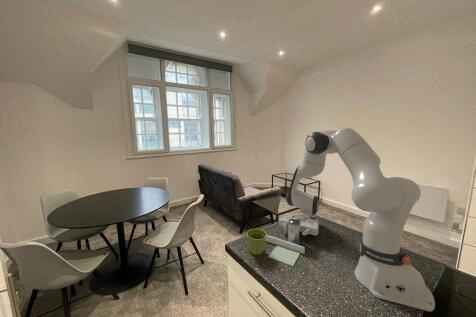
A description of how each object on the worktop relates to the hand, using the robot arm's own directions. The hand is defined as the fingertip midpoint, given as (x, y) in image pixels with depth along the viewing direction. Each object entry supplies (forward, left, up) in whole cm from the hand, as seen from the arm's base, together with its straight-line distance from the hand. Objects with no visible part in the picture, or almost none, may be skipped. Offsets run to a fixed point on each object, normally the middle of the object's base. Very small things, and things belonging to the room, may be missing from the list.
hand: (294, 231), depth 97 cm
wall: (+3, +6, -6) cm, 9 cm away
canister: (0, 0, -6) cm, 6 cm away
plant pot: (+12, +17, -6) cm, 22 cm away
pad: (0, +13, -6) cm, 14 cm away
